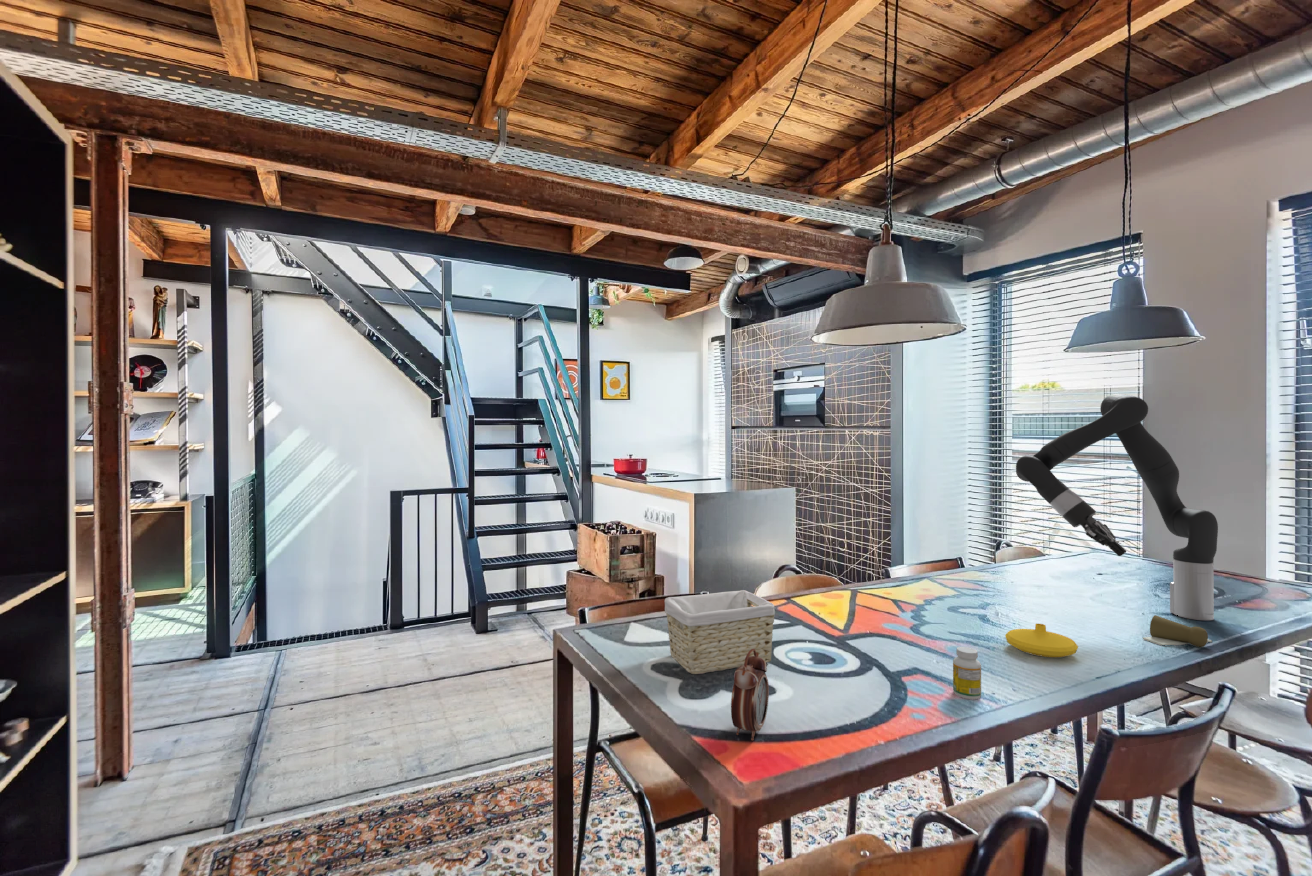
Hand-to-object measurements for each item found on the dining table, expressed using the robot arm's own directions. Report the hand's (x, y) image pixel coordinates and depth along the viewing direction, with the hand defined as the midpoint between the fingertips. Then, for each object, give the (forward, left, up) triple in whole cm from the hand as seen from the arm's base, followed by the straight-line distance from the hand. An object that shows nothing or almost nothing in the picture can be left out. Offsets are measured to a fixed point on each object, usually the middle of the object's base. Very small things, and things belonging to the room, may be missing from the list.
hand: (1123, 554), depth 170 cm
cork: (+7, +2, -19) cm, 20 cm away
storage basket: (0, -121, -22) cm, 123 cm away
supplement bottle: (+30, -75, -22) cm, 84 cm away
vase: (+11, -38, -22) cm, 45 cm away
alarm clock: (+36, -126, -22) cm, 133 cm away
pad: (+11, +5, -22) cm, 25 cm away
